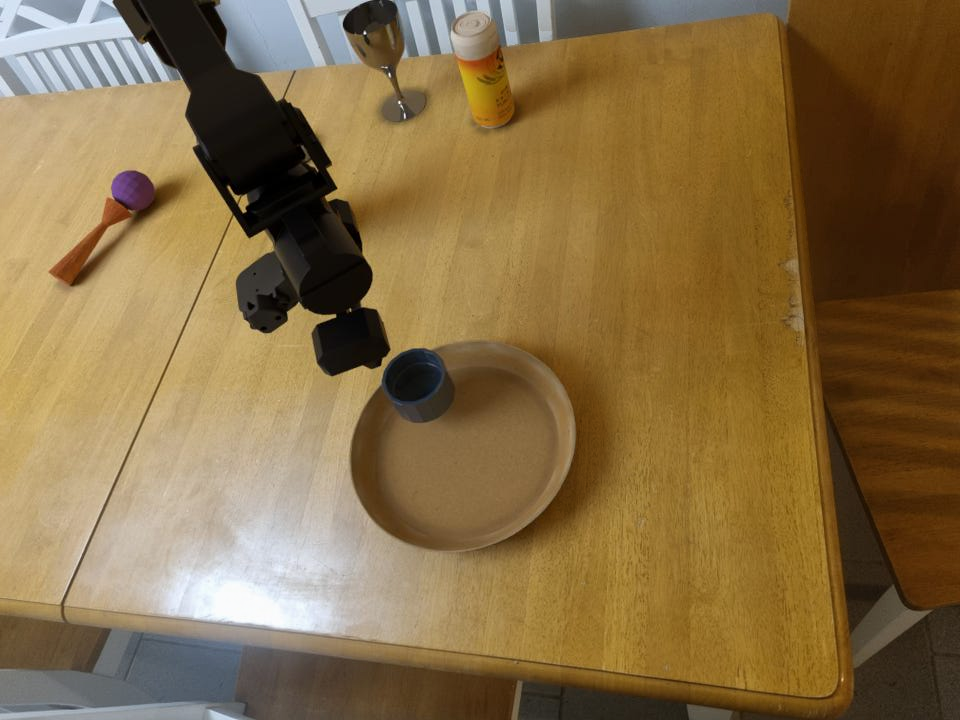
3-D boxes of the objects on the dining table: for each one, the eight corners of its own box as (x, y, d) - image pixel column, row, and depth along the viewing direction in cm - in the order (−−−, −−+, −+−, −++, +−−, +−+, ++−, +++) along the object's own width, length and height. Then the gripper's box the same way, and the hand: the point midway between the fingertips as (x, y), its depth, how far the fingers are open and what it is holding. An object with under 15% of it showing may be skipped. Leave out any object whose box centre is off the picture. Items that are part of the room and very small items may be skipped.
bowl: (390, 382, 81) (376, 361, 77) (447, 361, 81) (436, 339, 77) (402, 434, 77) (388, 414, 73) (463, 412, 77) (452, 391, 73)
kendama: (32, 262, 105) (120, 160, 112) (67, 287, 110) (150, 187, 116) (50, 269, 102) (140, 163, 108) (85, 294, 106) (169, 191, 112)
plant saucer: (333, 550, 75) (320, 539, 73) (387, 353, 88) (378, 337, 85) (566, 575, 69) (561, 564, 66) (589, 358, 81) (586, 341, 78)
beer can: (511, 130, 104) (489, 35, 92) (470, 131, 106) (443, 39, 93) (518, 101, 107) (498, 6, 95) (479, 103, 109) (453, 10, 96)
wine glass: (378, 95, 115) (342, 7, 103) (427, 83, 114) (397, -7, 102) (378, 128, 111) (341, 40, 98) (429, 116, 110) (398, 25, 97)
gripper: (209, 191, 68) (282, 291, 81) (226, 348, 57) (307, 434, 70) (321, 149, 67) (377, 256, 80) (359, 299, 57) (415, 394, 70)
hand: (367, 331), depth 75 cm, fingers open, 9 cm apart
